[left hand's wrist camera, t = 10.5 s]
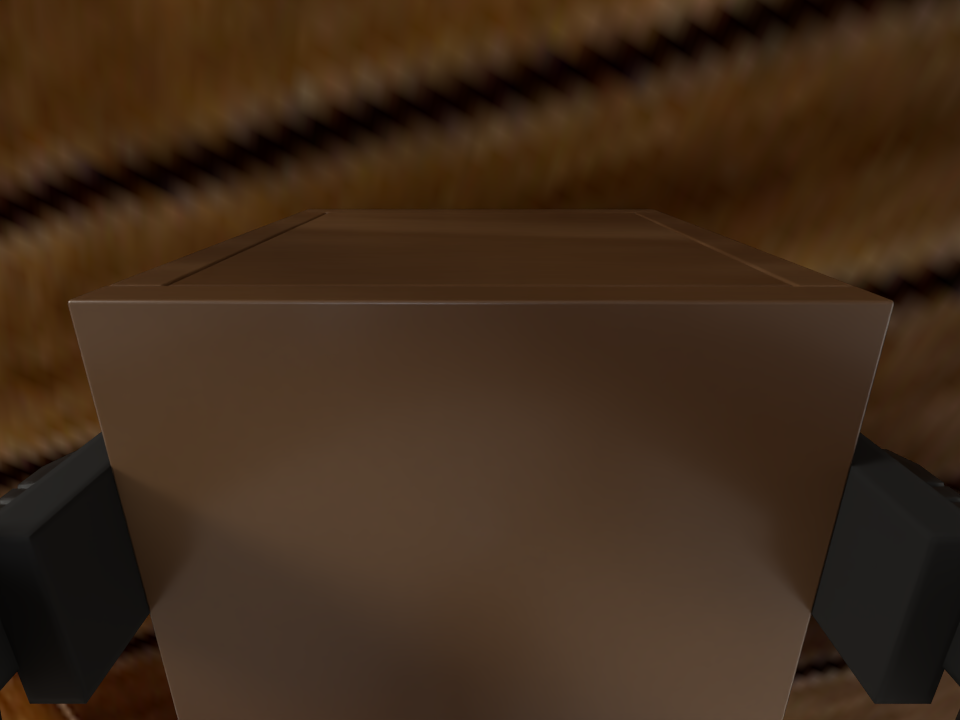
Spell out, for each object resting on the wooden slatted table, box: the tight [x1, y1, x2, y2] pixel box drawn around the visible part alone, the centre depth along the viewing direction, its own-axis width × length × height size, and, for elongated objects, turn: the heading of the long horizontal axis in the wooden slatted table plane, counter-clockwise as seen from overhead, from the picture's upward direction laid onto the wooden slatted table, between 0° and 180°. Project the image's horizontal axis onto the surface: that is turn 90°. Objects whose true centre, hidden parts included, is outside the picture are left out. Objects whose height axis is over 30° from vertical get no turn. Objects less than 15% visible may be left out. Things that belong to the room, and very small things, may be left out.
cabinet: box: [68, 209, 894, 720], centre depth 16 cm, size 20×10×11 cm, turn 0°
